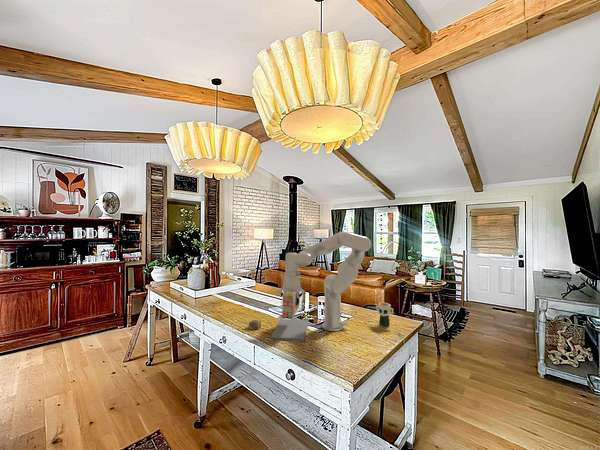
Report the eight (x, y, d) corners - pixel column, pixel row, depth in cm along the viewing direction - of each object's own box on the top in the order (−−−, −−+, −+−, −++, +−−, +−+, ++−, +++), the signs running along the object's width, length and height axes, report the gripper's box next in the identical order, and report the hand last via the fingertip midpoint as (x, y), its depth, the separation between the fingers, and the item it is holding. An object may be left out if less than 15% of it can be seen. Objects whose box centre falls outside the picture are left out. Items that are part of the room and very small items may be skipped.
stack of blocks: (289, 305, 166) (290, 286, 166) (299, 306, 165) (299, 286, 165) (282, 317, 145) (282, 294, 145) (293, 317, 144) (293, 295, 144)
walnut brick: (261, 327, 159) (261, 320, 159) (258, 329, 155) (258, 323, 155) (251, 326, 160) (251, 319, 160) (248, 328, 156) (249, 321, 156)
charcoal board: (308, 322, 167) (308, 320, 167) (304, 341, 139) (304, 338, 139) (280, 320, 169) (280, 318, 169) (271, 339, 141) (271, 337, 141)
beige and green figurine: (373, 324, 163) (373, 303, 163) (377, 321, 169) (377, 301, 169) (391, 329, 157) (391, 307, 157) (395, 325, 162) (395, 304, 163)
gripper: (306, 273, 157) (306, 303, 157) (278, 272, 159) (278, 302, 159) (305, 275, 150) (305, 307, 150) (275, 274, 152) (275, 305, 151)
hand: (291, 304), depth 154 cm, fingers closed on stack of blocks, 6 cm apart
